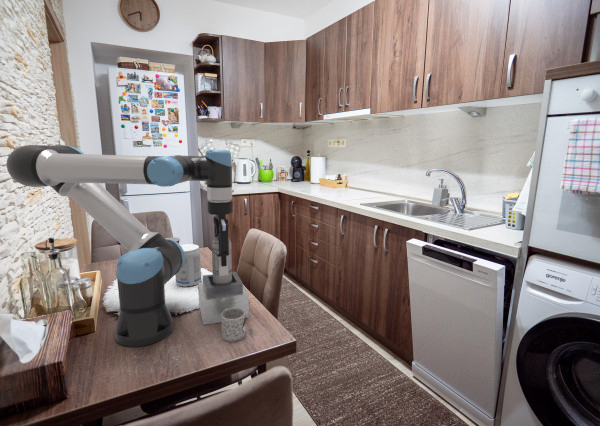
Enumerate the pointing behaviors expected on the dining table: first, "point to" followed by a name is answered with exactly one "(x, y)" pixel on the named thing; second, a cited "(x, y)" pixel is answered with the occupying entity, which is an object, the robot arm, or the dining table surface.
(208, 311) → the block
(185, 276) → the supplement tub
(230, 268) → the energy drink can
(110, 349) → the dining table surface
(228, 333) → the mug
